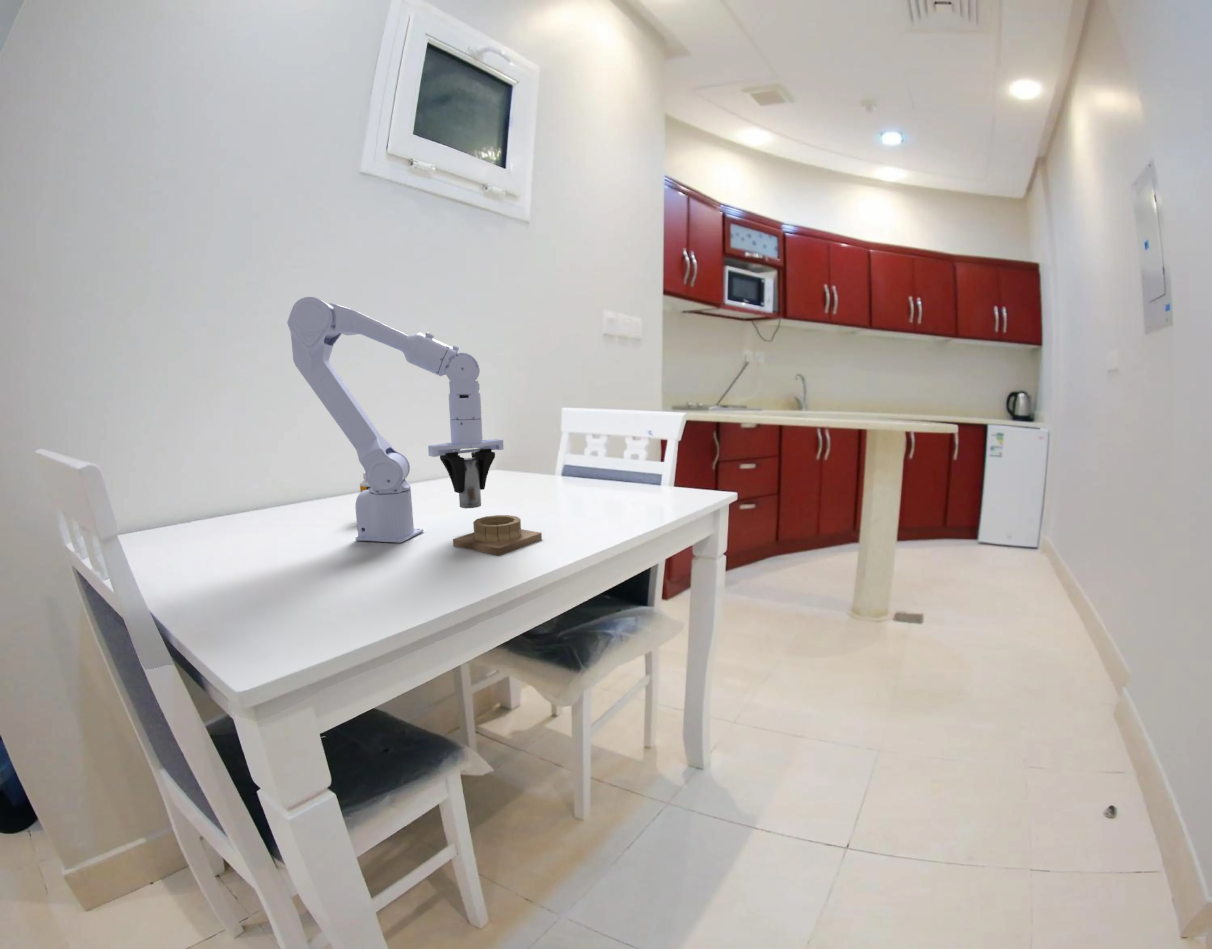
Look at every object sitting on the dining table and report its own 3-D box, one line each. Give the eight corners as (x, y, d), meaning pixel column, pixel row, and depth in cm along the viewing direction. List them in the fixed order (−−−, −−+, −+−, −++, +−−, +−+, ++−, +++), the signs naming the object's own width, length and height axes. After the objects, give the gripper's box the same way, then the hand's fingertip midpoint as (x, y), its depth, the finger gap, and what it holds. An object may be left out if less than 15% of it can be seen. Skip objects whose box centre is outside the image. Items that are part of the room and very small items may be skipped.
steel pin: (455, 507, 106) (453, 460, 104) (465, 503, 109) (463, 457, 108) (475, 508, 105) (472, 461, 103) (484, 504, 108) (482, 458, 107)
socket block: (453, 545, 99) (451, 523, 98) (497, 531, 108) (496, 510, 107) (499, 555, 93) (497, 531, 92) (541, 539, 102) (540, 517, 101)
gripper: (438, 422, 97) (443, 499, 99) (510, 417, 106) (513, 488, 108) (421, 420, 102) (426, 493, 104) (491, 416, 111) (494, 483, 114)
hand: (469, 490), depth 107 cm, fingers closed on steel pin, 4 cm apart
